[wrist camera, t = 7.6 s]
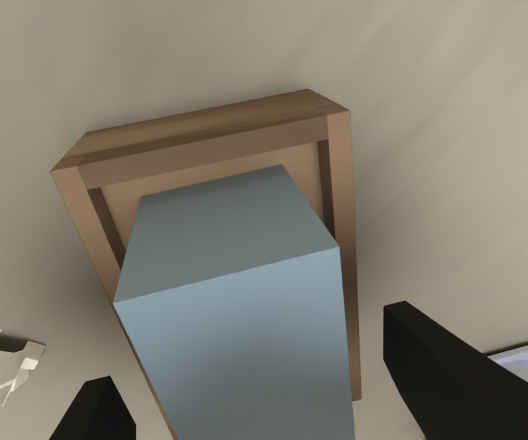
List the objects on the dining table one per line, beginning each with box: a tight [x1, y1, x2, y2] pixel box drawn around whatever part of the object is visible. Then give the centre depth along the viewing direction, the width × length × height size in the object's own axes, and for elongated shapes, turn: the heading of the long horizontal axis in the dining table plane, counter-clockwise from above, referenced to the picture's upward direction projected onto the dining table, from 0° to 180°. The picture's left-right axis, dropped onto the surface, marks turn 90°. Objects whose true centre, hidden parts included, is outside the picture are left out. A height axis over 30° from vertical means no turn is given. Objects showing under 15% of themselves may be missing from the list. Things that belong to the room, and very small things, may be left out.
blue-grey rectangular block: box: [113, 164, 355, 440], centre depth 10 cm, size 8×4×4 cm, turn 9°
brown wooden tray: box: [50, 89, 362, 440], centre depth 13 cm, size 11×7×4 cm, turn 9°
